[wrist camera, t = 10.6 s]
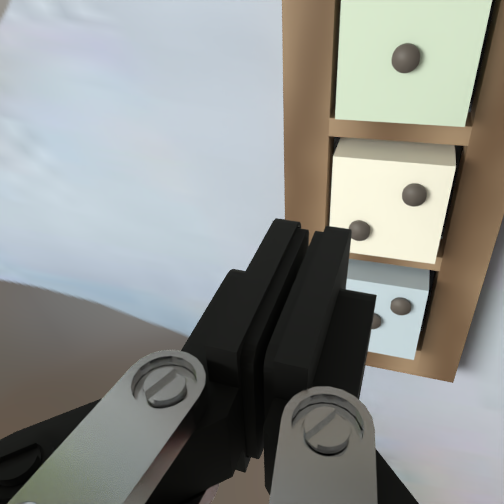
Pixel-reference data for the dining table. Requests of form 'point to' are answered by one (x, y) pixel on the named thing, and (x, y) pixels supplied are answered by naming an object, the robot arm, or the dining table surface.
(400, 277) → the pale blue drawer
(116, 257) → the dining table surface
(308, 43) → the wooden compartment tray
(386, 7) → the pale green drawer
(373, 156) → the cream drawer
